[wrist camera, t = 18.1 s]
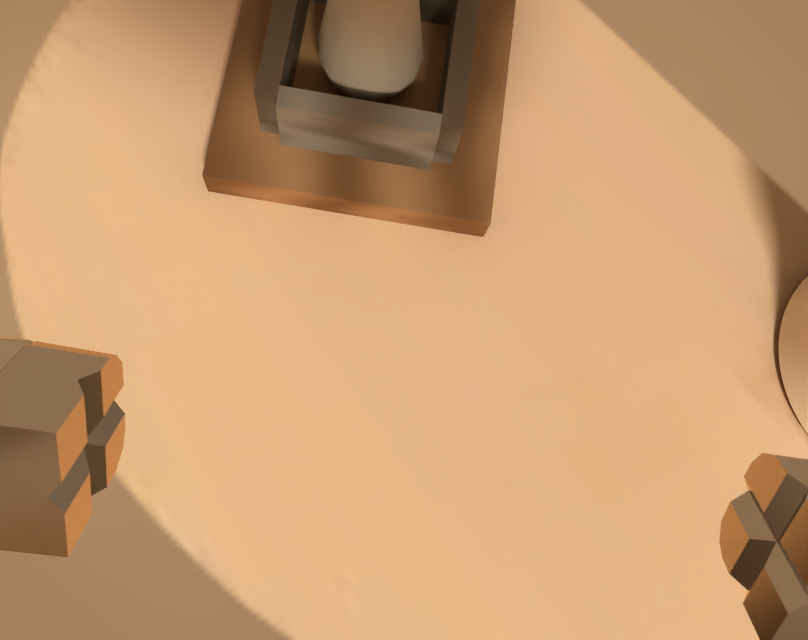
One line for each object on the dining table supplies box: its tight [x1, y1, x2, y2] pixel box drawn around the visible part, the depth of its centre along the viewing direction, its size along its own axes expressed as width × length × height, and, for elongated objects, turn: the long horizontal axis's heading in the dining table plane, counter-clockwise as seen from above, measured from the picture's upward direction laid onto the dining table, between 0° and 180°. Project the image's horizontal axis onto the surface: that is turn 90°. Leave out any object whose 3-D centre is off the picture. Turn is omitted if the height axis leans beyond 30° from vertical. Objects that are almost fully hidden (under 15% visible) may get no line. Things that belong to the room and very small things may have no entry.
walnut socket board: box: [202, 0, 516, 237], centre depth 41 cm, size 16×16×6 cm
